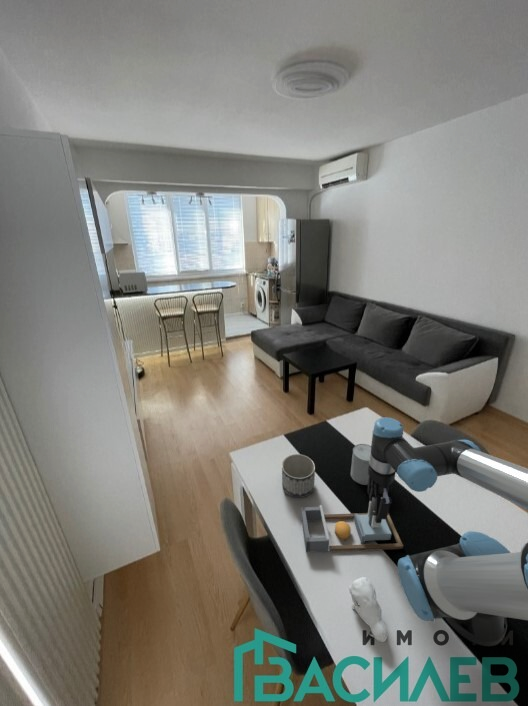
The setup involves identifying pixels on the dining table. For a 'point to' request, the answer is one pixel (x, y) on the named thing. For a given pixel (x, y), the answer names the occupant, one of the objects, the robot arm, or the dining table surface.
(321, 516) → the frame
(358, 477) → the grey cylinder
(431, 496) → the dining table surface
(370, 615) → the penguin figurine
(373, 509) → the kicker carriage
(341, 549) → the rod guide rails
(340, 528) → the orange rounded piece
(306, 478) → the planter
